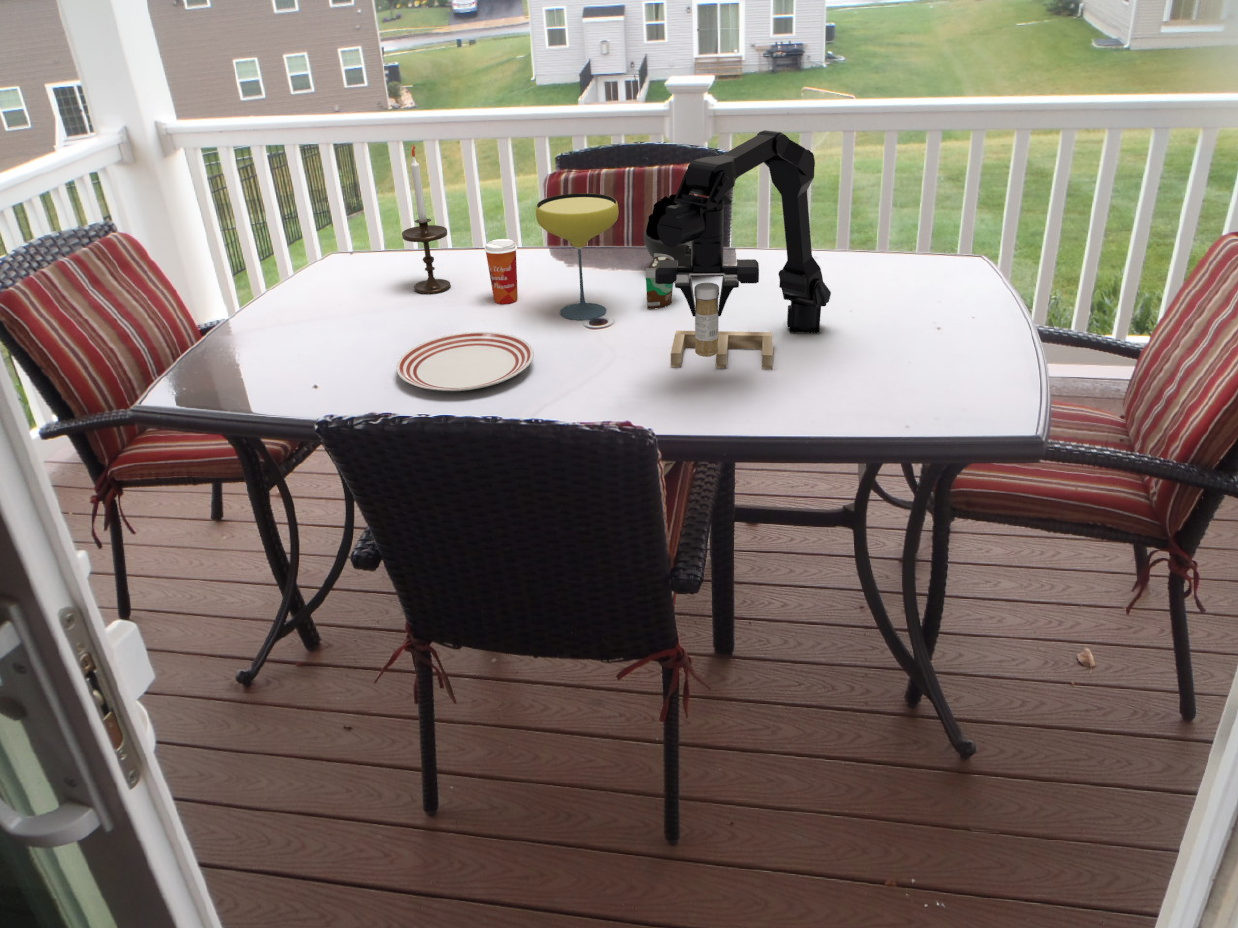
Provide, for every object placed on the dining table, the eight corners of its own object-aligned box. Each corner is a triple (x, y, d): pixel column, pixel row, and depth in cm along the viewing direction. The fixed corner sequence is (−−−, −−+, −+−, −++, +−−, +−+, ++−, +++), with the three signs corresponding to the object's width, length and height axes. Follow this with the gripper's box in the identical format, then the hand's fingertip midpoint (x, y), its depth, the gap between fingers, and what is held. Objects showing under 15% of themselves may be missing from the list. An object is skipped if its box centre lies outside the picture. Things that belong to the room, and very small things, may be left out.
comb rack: (771, 345, 192) (772, 332, 191) (772, 369, 182) (772, 355, 181) (675, 343, 195) (675, 330, 194) (670, 367, 185) (670, 353, 183)
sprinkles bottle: (711, 346, 180) (712, 280, 173) (722, 355, 176) (723, 287, 169) (690, 351, 179) (690, 284, 172) (701, 359, 175) (701, 291, 168)
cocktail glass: (548, 299, 222) (539, 194, 210) (623, 297, 221) (619, 191, 209) (540, 327, 206) (530, 215, 194) (621, 325, 206) (616, 213, 193)
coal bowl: (682, 254, 249) (682, 183, 239) (739, 270, 236) (741, 195, 226) (628, 272, 237) (626, 198, 228) (684, 289, 224) (684, 212, 215)
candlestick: (461, 289, 231) (443, 143, 213) (421, 298, 226) (399, 150, 208) (443, 278, 239) (423, 137, 221) (403, 287, 234) (381, 143, 216)
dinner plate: (476, 413, 171) (474, 397, 169) (369, 384, 184) (366, 368, 182) (561, 360, 191) (560, 345, 189) (459, 337, 204) (458, 323, 202)
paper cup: (484, 304, 221) (477, 246, 214) (499, 293, 227) (493, 237, 220) (513, 307, 218) (507, 249, 211) (528, 296, 224) (522, 239, 217)
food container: (672, 312, 212) (672, 270, 207) (646, 311, 213) (645, 269, 208) (680, 294, 222) (680, 253, 217) (655, 293, 223) (654, 252, 218)
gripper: (758, 220, 172) (755, 300, 180) (658, 221, 174) (659, 301, 182) (760, 238, 162) (757, 321, 170) (654, 239, 164) (656, 322, 172)
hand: (706, 315), depth 174 cm, fingers closed on sprinkles bottle, 4 cm apart
